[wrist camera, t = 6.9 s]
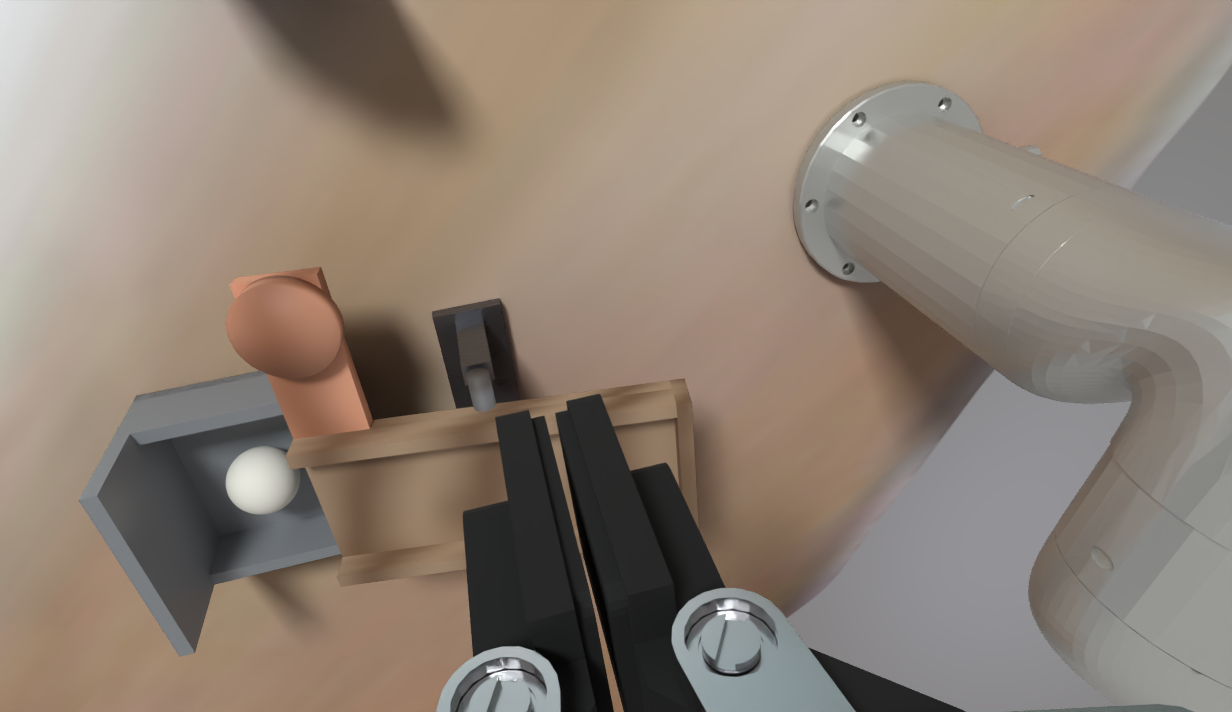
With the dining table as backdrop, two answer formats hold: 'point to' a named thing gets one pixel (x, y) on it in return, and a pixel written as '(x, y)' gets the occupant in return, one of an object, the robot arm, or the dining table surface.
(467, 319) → the pivot stand
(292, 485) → the ball
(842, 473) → the dining table surface
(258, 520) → the cup
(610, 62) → the dining table surface
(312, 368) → the brown flat piece
